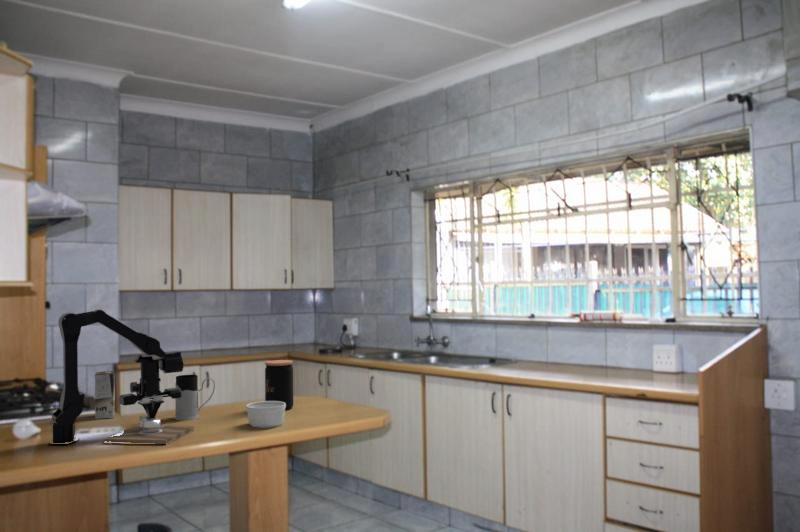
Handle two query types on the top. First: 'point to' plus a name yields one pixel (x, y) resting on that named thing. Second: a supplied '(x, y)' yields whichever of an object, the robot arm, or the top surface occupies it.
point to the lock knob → (149, 424)
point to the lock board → (151, 435)
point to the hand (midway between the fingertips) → (151, 422)
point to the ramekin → (266, 413)
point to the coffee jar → (279, 382)
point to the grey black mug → (188, 397)
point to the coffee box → (104, 394)
